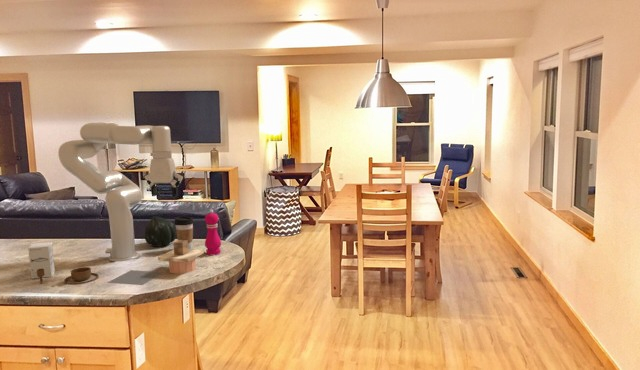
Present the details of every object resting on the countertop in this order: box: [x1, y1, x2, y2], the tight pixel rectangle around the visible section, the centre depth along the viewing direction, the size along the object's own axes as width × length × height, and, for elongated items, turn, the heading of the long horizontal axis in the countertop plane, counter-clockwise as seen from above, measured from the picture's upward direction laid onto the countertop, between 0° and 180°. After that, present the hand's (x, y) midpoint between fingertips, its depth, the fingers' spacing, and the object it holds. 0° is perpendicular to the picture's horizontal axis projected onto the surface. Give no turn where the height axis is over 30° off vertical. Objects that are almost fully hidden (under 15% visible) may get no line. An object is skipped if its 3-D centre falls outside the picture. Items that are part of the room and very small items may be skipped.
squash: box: [143, 216, 177, 247], centre depth 245 cm, size 14×15×15 cm
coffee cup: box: [174, 216, 194, 249], centre depth 235 cm, size 8×8×15 cm
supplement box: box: [27, 241, 56, 280], centre depth 201 cm, size 7×7×13 cm
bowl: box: [168, 258, 196, 275], centre depth 203 cm, size 10×10×6 cm
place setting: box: [37, 266, 99, 288], centre depth 196 cm, size 18×20×6 cm
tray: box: [106, 269, 165, 286], centre depth 195 cm, size 15×15×1 cm
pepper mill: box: [204, 209, 222, 256], centre depth 227 cm, size 7×7×20 cm
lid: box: [157, 239, 205, 262], centre depth 202 cm, size 13×13×6 cm
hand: (164, 196), depth 214 cm, fingers open, 9 cm apart
